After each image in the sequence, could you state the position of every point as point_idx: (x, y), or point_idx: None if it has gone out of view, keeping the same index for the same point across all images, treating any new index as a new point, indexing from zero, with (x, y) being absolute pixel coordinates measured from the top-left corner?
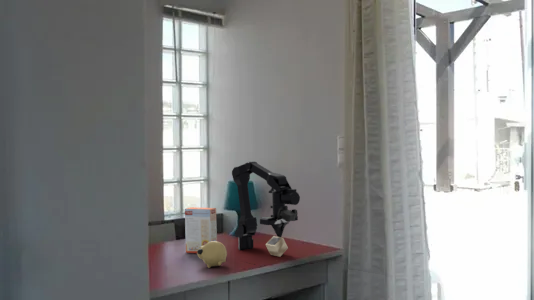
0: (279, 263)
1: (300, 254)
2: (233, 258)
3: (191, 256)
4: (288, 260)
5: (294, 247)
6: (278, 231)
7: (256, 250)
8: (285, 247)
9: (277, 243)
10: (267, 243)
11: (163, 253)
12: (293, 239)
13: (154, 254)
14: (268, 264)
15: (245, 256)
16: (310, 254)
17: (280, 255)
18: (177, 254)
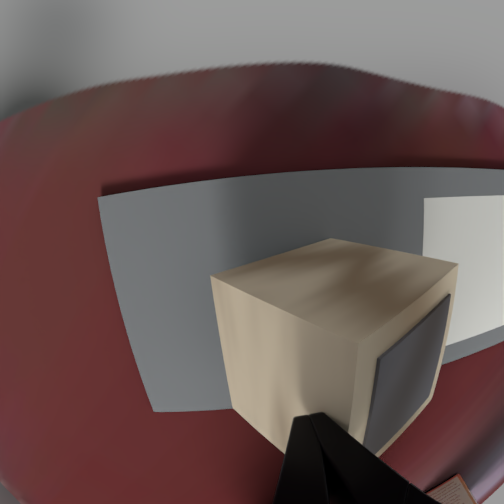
0: (445, 90)
1: (86, 224)
2: (484, 393)
3: (492, 463)
4: (338, 100)
5: (35, 417)
6: (408, 493)
7: (274, 489)
8: (262, 273)
9: (437, 281)
10: (425, 399)
11: (478, 500)
12: (9, 486)
13: (491, 494)
14: (499, 135)
15: (430, 409)
16: (29, 167)
17: (329, 241)
18: (479, 489)
